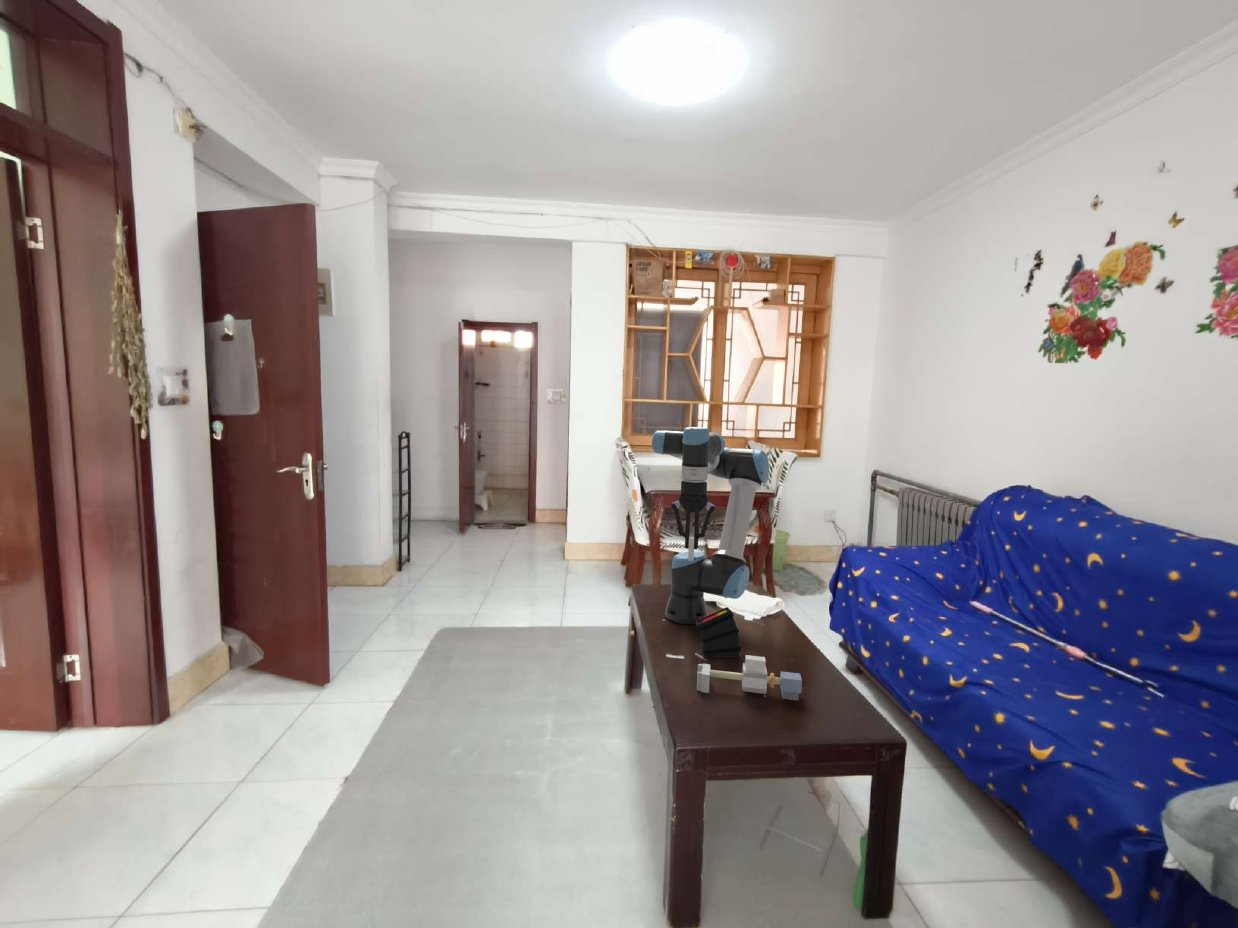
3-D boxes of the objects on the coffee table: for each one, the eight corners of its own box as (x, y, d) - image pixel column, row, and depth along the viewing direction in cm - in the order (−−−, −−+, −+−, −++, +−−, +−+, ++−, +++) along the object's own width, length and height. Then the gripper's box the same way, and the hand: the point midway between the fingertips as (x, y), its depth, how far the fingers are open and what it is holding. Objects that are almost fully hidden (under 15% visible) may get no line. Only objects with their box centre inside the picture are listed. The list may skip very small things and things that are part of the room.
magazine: (750, 653, 163) (731, 610, 161) (710, 671, 163) (691, 628, 161) (747, 648, 167) (728, 605, 165) (708, 665, 167) (689, 623, 165)
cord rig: (697, 680, 150) (698, 660, 149) (798, 691, 145) (799, 671, 145) (696, 691, 144) (697, 670, 144) (801, 703, 140) (802, 682, 139)
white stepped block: (741, 681, 147) (743, 652, 147) (764, 683, 146) (766, 654, 145) (742, 691, 142) (744, 661, 141) (766, 693, 141) (768, 663, 140)
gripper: (670, 481, 155) (667, 561, 158) (716, 483, 153) (713, 564, 155) (672, 477, 162) (669, 554, 165) (717, 479, 160) (713, 557, 163)
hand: (690, 559), depth 160 cm, fingers closed
